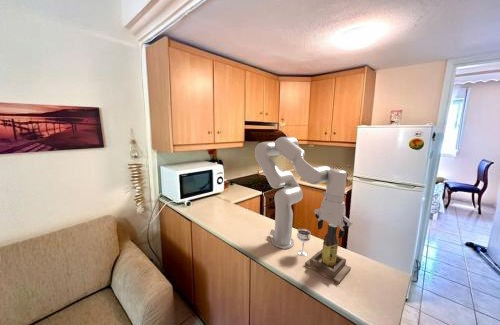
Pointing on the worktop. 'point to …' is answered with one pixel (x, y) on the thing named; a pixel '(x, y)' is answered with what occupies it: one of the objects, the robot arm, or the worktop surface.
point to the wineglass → (303, 239)
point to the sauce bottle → (330, 246)
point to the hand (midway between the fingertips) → (330, 232)
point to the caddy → (331, 273)
